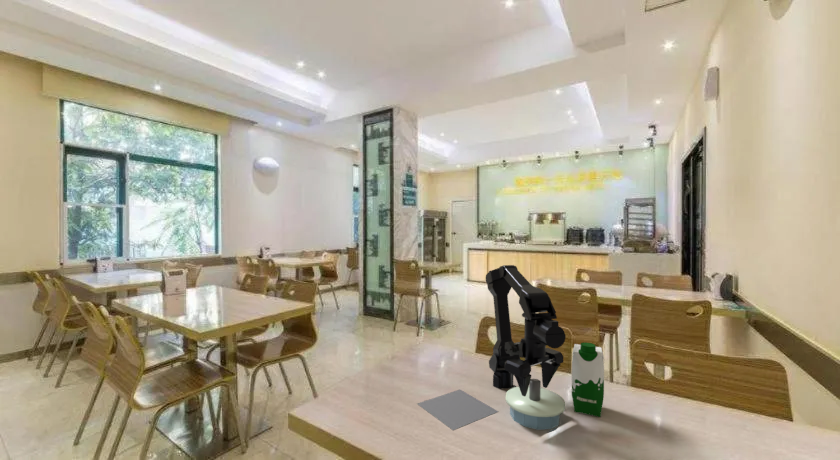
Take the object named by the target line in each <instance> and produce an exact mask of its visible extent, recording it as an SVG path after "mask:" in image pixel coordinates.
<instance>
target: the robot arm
mask: <svg viewBox="0 0 840 460" xmlns="http://www.w3.org/2000/svg"><path fill="white" fill-rule="evenodd" d="M485 283H486V285H487V289H488V291H489V293H490V294H491V296H492V298H493V299H492V300H493V309H494V318H495V319H494V320H495V328H496V329H495V332H496V342H495V344H494V346H493V349H492V350H493V351H492V355H491V357H490V358H489V360H488V366H489V369H490V370H491V371H492V372H493V374H492V375H493V376H492V377H493V378H492V387H494V388H496V389H498V390H501V389H504V390H505V389H506V390H507V389H512V388H514V387H519V388H520V391H521V394H522V396H526V394H527V391H528V387H529V383H530V379H532V374H530V373H531V372H532V367H533V366H537V365H540V368H541V381H542V388H544V389H547V388H548V386H549V384H550V382H551V381H552V379H553V378H554V376H555V374H556V372H557V370H558V369H559V367H561V366H562V365H561V364H563V363H564V355H563V353H562V352H561V351H559V350H555V349H559V348H560V347H562V346H563V345H564V343H565V341H566V339H567V337H566V334H565V330H564V328H562V327H561V326H559V321H558V320H557V319H558V316H557V314H556V313H557V311H556V309H555V307H554V305H553V303H552V300H551V298H550V295H549V294H548V293H547V292H546V291H545V290H543V289H542V288H541V287H540V288H539V287H537V286H534V285H532V284H531V283H530V282H529V281H528V280H527V278H526V277H524V275H523V274H522V273H521V272H520V271H519V270H518V267H517V266H516V265H514V264H509V265H508V264H507V265H500V266H499V267H498V268H494V269H491V270H489V271H488V273H486V274H485ZM511 289H512V290H513V291H514V292H515V293H516V294H517V296H518V297H519V298H518V299H519V300H518V303H519V306H520V308H521V310H522V311H523V313H522V314H521V317H522V318H524V337H523V338H521V339H520V340H519V341H516V342H514V340H513V339H512V329H511V327H512V326H511V318H510V317H511V316H510V309H509V298H508V295H509V294H510V292H511ZM547 346H548V347H547ZM521 358H522V359H521ZM523 359H524V360H523ZM514 378H515V380H516V382H517V385H518V386H517V385H514Z"/></svg>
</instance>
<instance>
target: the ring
mask: <svg viewBox="0 0 840 460" xmlns="http://www.w3.org/2000/svg"><path fill="white" fill-rule="evenodd" d="M509 415H510V416H511V419H513V421H514V422H515V423H518V424H519V425H520V426H523V427H526V428H529V429H533V430H537V431H539V430H549V431H548V432H547V433H551V432H554V431H556V430H558V428H559V425H560V417H561V414H560V415H557V416H553V417H535V416H530V415H526V414H523V413H520V412H518V411H516V410H514V409H513V408H511V407H510V406H509ZM555 427H556V428H555Z"/></svg>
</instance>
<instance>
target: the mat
mask: <svg viewBox="0 0 840 460" xmlns="http://www.w3.org/2000/svg"><path fill="white" fill-rule="evenodd" d="M416 404H417V405H418V406H419V407H421V409H423V410H424V411H426V412H427V413H428V414H430V415H431V416H432V417H434V418H436V419H437V420H438V421H439V422H441V423H442V424H444V425H445V426H446V427H448V428H449V429H450V430H452V431H456V430H458V429H460V428H463V427H466V426H467V425H470V424H472V423H475V422H477V421H479V420H482V419H484V418H486V417H489V416H492V415H494V414H497V413H499V411H498V410H497V409H495V408H493V407H492V406H490V405H489V404H486V403H485V402H483V401H481V400H479V399H478V398H476V397H474V396H473V395H470V394H469V393H467V392H465V390H462V389H457V390H454V391H451V392H448V393H445V394H441V395H439V396H436V397H433V398H429V399H426V400H424V401H420V402H418V403H416Z"/></svg>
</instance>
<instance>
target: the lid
mask: <svg viewBox="0 0 840 460" xmlns="http://www.w3.org/2000/svg"><path fill="white" fill-rule="evenodd" d="M541 381H542V380H539V379H538V378H531V379H530V383H529V387H528V391H527V394H526V396H522V394H521V391H520V388H519V386H517V387H514V388H512V389H511V388H509V389H508V390H507V391H506V392H505V402H506V404H507V405H508V406H509V408H510V407H511V408H513V409H514V410H516V411H518V412H520V413H523V414H526V415H530V416H535V417H553V416H557V415H560V416H561V414H563V413H564V412H565V410H566V401H565V399H564V398H563V397H562V396H561V395H560V394H558V393H557V392H555V391H553V390H550V389H547V388H545V387H542V385H541Z"/></svg>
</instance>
